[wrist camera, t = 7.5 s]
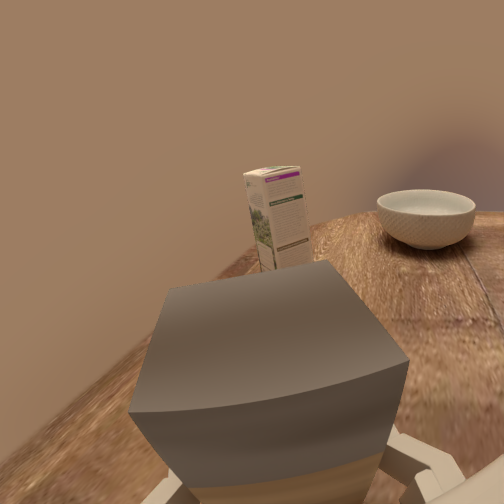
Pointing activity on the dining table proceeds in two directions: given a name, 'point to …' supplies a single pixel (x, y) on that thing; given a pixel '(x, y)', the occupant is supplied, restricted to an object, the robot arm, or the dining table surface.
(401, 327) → the dining table surface
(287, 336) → the tool handle
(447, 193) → the cereal bowl
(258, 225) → the syrup box
